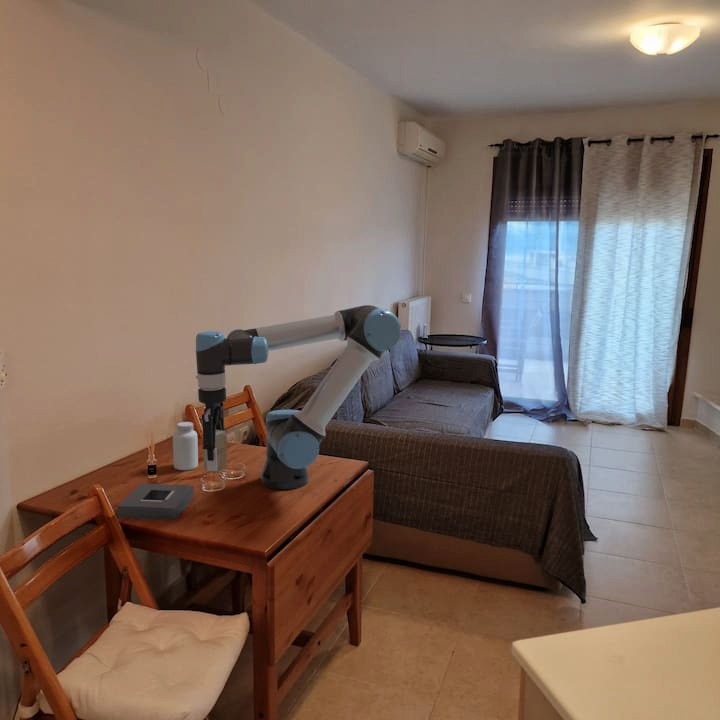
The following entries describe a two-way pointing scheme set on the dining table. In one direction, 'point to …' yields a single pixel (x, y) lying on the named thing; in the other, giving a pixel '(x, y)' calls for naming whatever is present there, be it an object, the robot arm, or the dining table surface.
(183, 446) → the pill bottle
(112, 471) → the dining table surface
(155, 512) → the base
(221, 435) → the box
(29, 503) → the dining table surface
